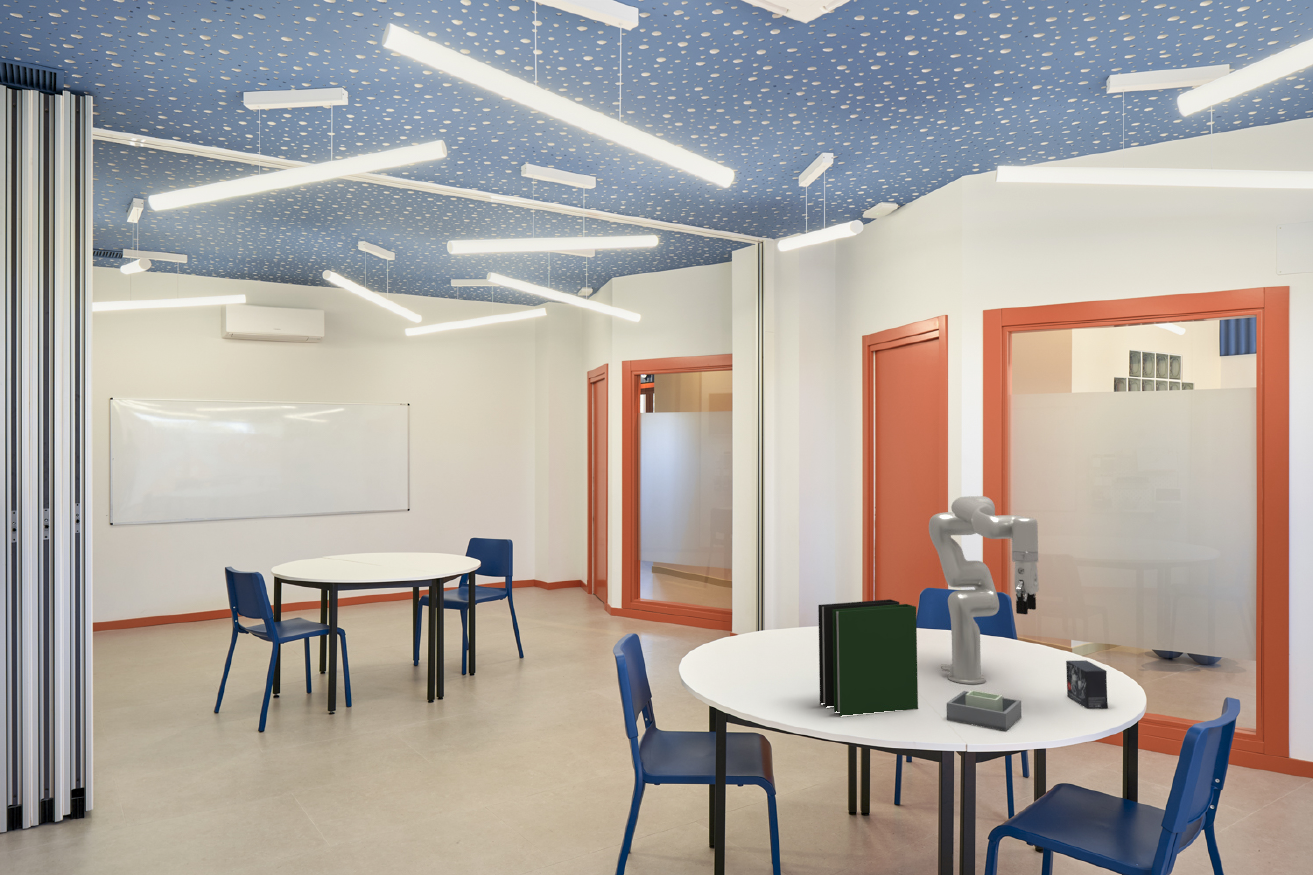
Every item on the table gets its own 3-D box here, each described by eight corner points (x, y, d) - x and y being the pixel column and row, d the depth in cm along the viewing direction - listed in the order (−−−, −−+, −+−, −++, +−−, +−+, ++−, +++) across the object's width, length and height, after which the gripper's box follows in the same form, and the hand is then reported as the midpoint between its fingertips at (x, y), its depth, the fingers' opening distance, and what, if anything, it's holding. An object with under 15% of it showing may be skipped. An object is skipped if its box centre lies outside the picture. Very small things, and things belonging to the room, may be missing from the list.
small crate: (965, 714, 243) (965, 694, 243) (972, 709, 247) (971, 690, 247) (996, 720, 237) (996, 699, 237) (1002, 715, 242) (1002, 695, 242)
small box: (1066, 696, 263) (1065, 659, 264) (1087, 696, 263) (1086, 659, 264) (1086, 709, 250) (1085, 670, 251) (1108, 709, 250) (1107, 670, 250)
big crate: (946, 719, 241) (946, 702, 241) (964, 706, 254) (964, 690, 254) (1006, 731, 230) (1005, 713, 231) (1021, 717, 243) (1021, 700, 243)
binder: (841, 717, 244) (839, 612, 245) (817, 703, 258) (816, 604, 259) (918, 708, 252) (916, 606, 253) (890, 695, 266) (889, 598, 267)
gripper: (1030, 560, 243) (1031, 617, 243) (1044, 554, 257) (1046, 608, 256) (1004, 558, 248) (1005, 614, 247) (1019, 553, 261) (1021, 606, 261)
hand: (1026, 611), depth 252 cm, fingers open, 9 cm apart
